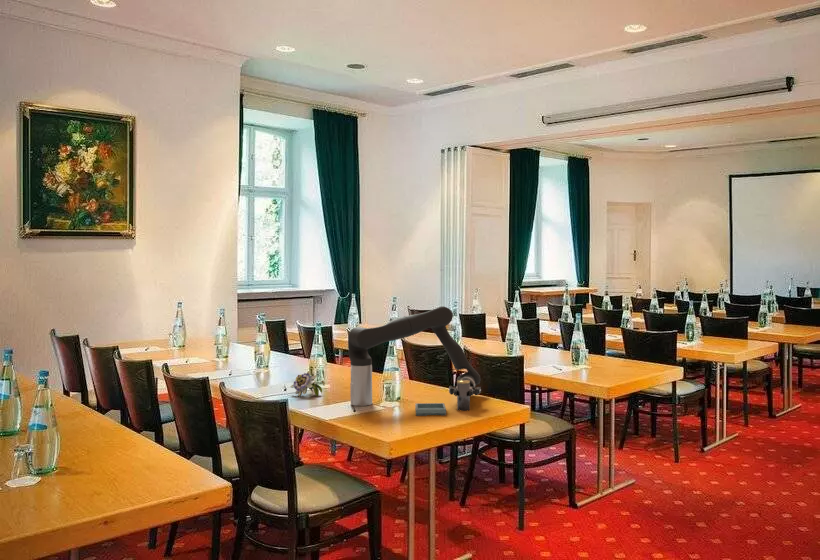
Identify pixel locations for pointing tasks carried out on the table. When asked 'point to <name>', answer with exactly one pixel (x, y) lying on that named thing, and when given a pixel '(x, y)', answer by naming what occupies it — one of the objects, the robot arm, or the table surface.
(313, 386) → the passion flower
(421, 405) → the tray
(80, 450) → the table surface
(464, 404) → the block
